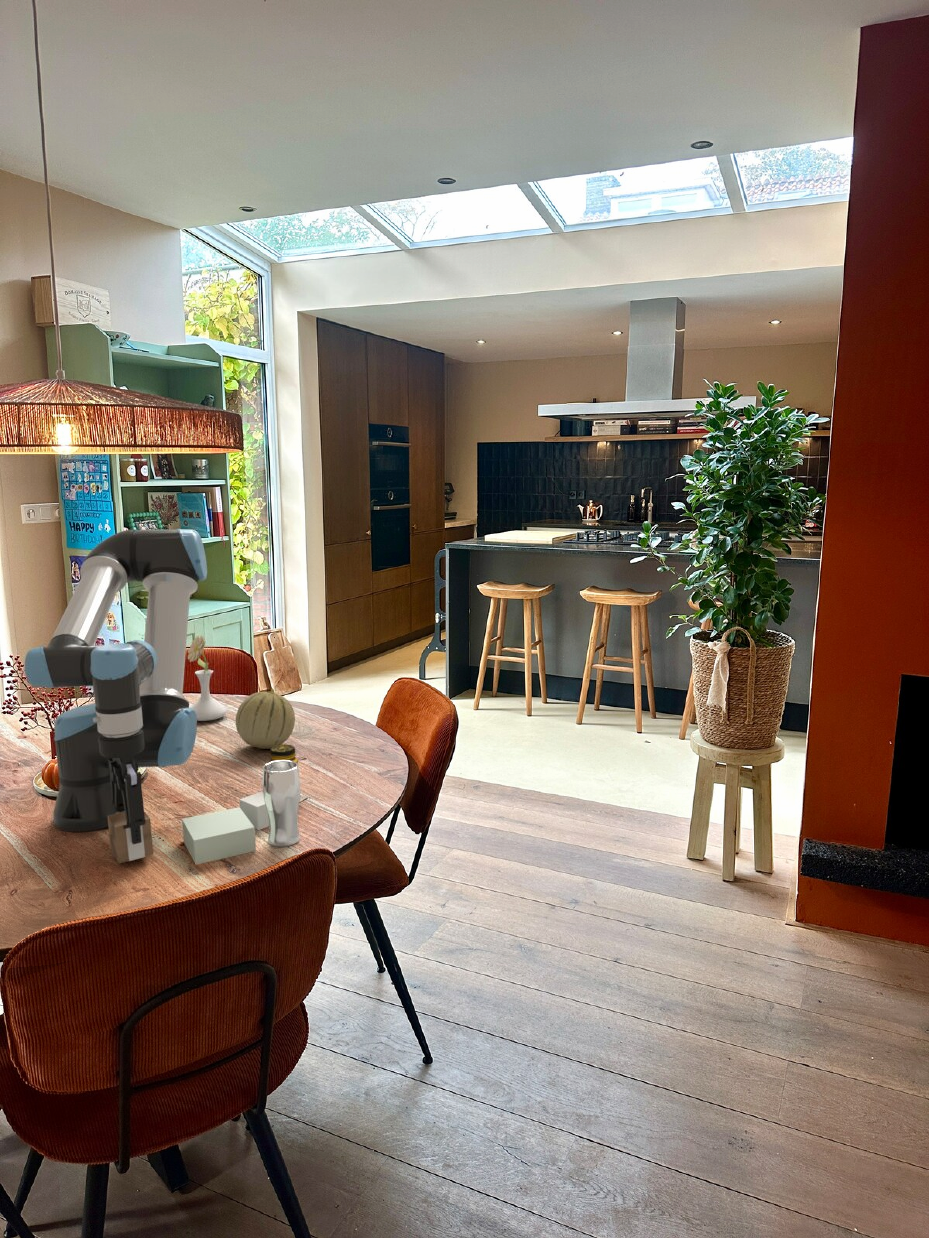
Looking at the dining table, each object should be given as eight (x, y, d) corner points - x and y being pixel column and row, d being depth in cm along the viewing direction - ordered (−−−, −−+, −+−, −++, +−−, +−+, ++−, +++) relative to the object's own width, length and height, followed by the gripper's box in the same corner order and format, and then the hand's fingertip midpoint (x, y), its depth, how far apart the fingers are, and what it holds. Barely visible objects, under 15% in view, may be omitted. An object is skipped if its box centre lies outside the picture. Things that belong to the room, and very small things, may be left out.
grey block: (240, 822, 171) (239, 799, 170) (265, 813, 175) (263, 790, 174) (258, 830, 167) (257, 806, 166) (283, 820, 171) (282, 797, 170)
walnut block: (110, 850, 155) (107, 815, 154) (144, 842, 159) (141, 807, 158) (118, 863, 151) (115, 827, 149) (153, 854, 154) (150, 818, 153)
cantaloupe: (226, 754, 211) (222, 696, 208) (254, 736, 225) (251, 682, 222) (280, 758, 208) (277, 700, 205) (305, 740, 222) (303, 685, 219)
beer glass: (305, 831, 166) (301, 759, 163) (299, 847, 159) (295, 771, 156) (269, 832, 165) (265, 759, 163) (262, 848, 159) (258, 772, 156)
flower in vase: (186, 714, 246) (180, 630, 241) (226, 711, 249) (221, 628, 245) (185, 727, 233) (179, 639, 229) (228, 723, 237) (223, 636, 232)
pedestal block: (183, 843, 162) (181, 818, 161) (240, 830, 167) (239, 807, 166) (195, 866, 153) (193, 840, 152) (256, 852, 158) (254, 827, 157)
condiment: (286, 809, 177) (283, 755, 175) (256, 802, 181) (253, 748, 179) (309, 797, 183) (306, 744, 181) (279, 790, 187) (276, 739, 185)
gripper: (86, 721, 156) (98, 837, 160) (111, 750, 140) (123, 877, 145) (128, 714, 160) (138, 827, 164) (157, 741, 145) (168, 865, 149)
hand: (131, 850), depth 155 cm, fingers closed on walnut block, 6 cm apart
